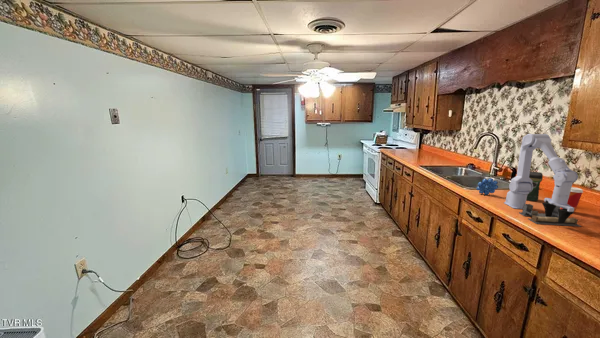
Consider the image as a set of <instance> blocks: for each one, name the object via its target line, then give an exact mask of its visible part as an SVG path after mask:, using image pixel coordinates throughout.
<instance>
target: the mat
mask: <svg viewBox="0 0 600 338" xmlns="http://www.w3.org/2000/svg"><path fill="white" fill-rule="evenodd" d="M527 220H529V221H530V222H532V223H534V224H535V225H544V226H545V225H549V226H564V227H579V228H580V227H582V225H580V224H579V223H577V224H573V223H559V222H544V221H537V222H535V221H533V220H532V218H527Z"/></svg>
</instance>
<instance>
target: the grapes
mask: <svg viewBox="0 0 600 338" xmlns="http://www.w3.org/2000/svg"><path fill="white" fill-rule="evenodd" d="M475 189H476V190H477V191H478V193H479V195H480V194H481V195H482V194H484V195H485V196H487V195H489V194H494V193H495V192H496V190H497V189H499V185H498V180H494V178H491V177H490V178H488V179H487V178H483V179H482V180H481V181H479V182H478V183H477V187H476V188H475Z"/></svg>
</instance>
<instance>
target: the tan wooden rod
mask: <svg viewBox="0 0 600 338" xmlns="http://www.w3.org/2000/svg"><path fill="white" fill-rule="evenodd" d="M531 219H532V220H533V221H535V222H537V221H544V222H558V218H556V217H538V216H535V215H533V216H532V217H531ZM578 221H579V219H578V218H575V217H568V218H567V219H566V221H565V222H564V223H573V224H578Z"/></svg>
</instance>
